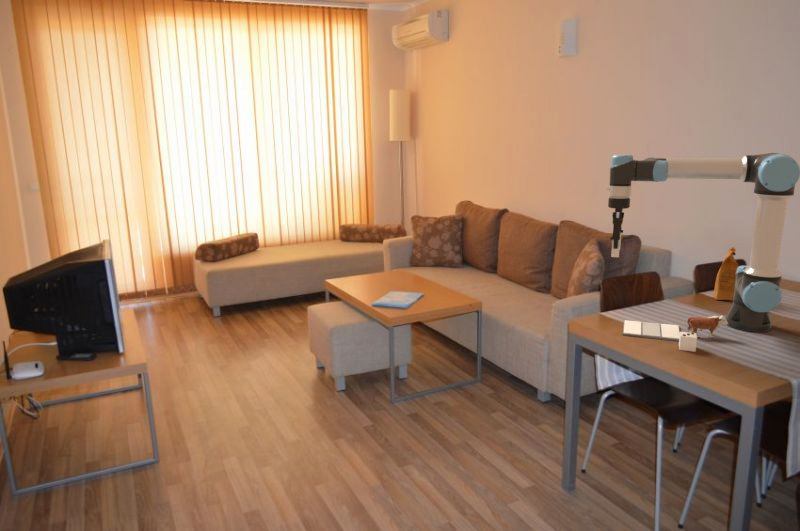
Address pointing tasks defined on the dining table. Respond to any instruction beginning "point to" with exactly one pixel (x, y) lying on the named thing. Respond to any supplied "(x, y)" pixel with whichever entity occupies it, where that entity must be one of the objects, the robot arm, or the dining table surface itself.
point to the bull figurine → (705, 324)
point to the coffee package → (726, 278)
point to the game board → (651, 330)
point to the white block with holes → (687, 341)
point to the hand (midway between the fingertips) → (615, 253)
